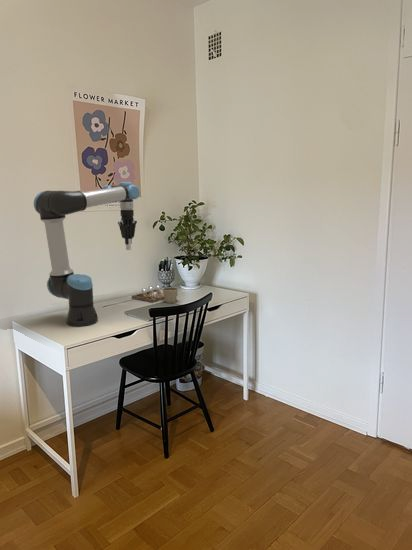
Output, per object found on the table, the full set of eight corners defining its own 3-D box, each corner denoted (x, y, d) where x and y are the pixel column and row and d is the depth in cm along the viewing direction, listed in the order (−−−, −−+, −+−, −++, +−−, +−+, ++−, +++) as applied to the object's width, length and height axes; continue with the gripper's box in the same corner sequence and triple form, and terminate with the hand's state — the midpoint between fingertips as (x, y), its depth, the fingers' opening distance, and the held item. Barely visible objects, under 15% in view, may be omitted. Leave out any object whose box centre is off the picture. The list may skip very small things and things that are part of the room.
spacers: (155, 301, 246) (154, 293, 245) (137, 297, 254) (137, 289, 253) (174, 295, 259) (174, 287, 258) (157, 292, 268) (157, 284, 267)
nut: (151, 300, 248) (150, 296, 247) (143, 300, 248) (143, 296, 248) (153, 298, 253) (153, 294, 252) (146, 298, 253) (145, 294, 253)
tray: (152, 304, 243) (151, 299, 242) (131, 300, 253) (131, 295, 252) (177, 297, 260) (177, 292, 259) (157, 293, 270) (157, 289, 269)
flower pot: (159, 303, 246) (158, 288, 245) (172, 300, 253) (171, 286, 251) (168, 306, 239) (168, 291, 238) (181, 303, 246) (181, 288, 244)
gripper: (122, 209, 237) (124, 251, 242) (139, 209, 247) (141, 249, 252) (113, 209, 242) (115, 250, 246) (130, 208, 252) (132, 248, 256)
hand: (128, 249), depth 249 cm, fingers closed
